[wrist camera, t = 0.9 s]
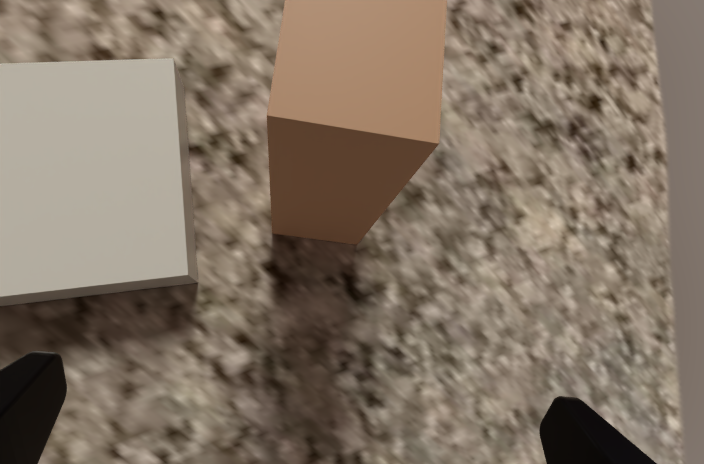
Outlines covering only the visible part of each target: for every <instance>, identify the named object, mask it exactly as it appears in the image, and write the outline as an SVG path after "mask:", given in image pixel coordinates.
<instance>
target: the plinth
mask: <svg viewBox="0 0 704 464" xmlns="http://www.w3.org/2000/svg"><path fill="white" fill-rule="evenodd" d="M191 283H198V272H197V258H196V244H195V231H194V217H193V203H192V189H191V175H190V161H189V148H188V134H187V120H186V106H185V92H184V86H183V83H182V80H181V78H180V75H179V72H178V69H177V67H176V64H175V61H174V58H168V59H137V60H105V61H73V62H41V63H10V64H0V306H7V305H16V304H24V303H32V302H41V301H49V300H57V299H66V298H74V297H82V296H91V295H99V294H107V293H116V292H124V291H132V290H141V289H149V288H158V287H166V286H174V285H183V284H191Z"/></svg>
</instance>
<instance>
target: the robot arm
mask: <svg viewBox="0 0 704 464" xmlns="http://www.w3.org/2000/svg"><path fill="white" fill-rule="evenodd" d="M66 392H67V384H66V379H65V373H64V367H63V362H62V358H61V356H60V355H59V354H58V353H55V352H43V351H32V352H30V353H28V354H26V355H24V356H22V357H21V358H19V359H18V360H16V361H14V362H13V363H11V364H9V365H8V366H6V367H4V368H3V369H1V370H0V464H38V462H39V459H40V457H41V454H42V452H43V450H44V447H45V445H46V443H47V440H48V438H49V436H50V433H51V431H52V429H53V426H54V424H55V422H56V419H57V417H58V414H59V412H60V410H61V407H62V405H63V403H64V400H65V397H66ZM540 438H541V442H542V446H543V450H544V454H545V458H546V462H547V464H656V463H655V462H654V461H653V460H652V459H651V458H649V457H648V456H647V455H646V454H645V453H643V452H642V451H641V450H640V449H639V448H638V447H636V446H635V445H634V444H633V443H632V442H630V441H629V440H628V439H627V438H626V437H625V436H623V435H622V434H621V433H620V432H619V431H617V430H616V429H615V428H614V427H613V426H612V425H610V424H609V423H608V422H607V421H606V420H604V419H603V418H602V417H601V416H600V415H598V414H597V413H596V412H595V411H594V410H593V409H591V408H590V407H589V406H588V405H587V404H585V403H584V402H583V401H582V400H580V399H578V398H574V397H563V396H559V397H557V398H555V399H554V400H553V402H552V404H551V406H550V407H549V409H548V411H547V413H546V415H545V416H544V418H543V420H542V422H541V424H540Z"/></svg>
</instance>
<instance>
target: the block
mask: <svg viewBox="0 0 704 464" xmlns="http://www.w3.org/2000/svg"><path fill="white" fill-rule="evenodd" d="M446 7H447V1H446V0H285V5H284V12H283V18H282V24H281V30H280V37H279V43H278V49H277V55H276V61H275V68H274V74H273V80H272V86H271V93H270V99H269V105H268V111H267V129H268V151H269V173H270V196H271V218H272V234H279V235H287V236H294V237H302V238H310V239H317V240H325V241H332V242H340V243H347V244H355V245H357V244H358V243H359V242H360V240H361V239H362V238H363V237H364V236H365V234H366V233H367V232H368V231H369V229H370V228H371V227H372V226H373V224H374V223H375V222H376V221H377V220H378V218H379V217H380V216H381V215H382V213H383V212H384V211H385V210H386V208H387V207H388V206H389V205H390V203H391V202H392V201H393V200H394V199H395V197H396V196H397V195H398V194H399V192H400V191H401V190H402V189H403V187H404V186H405V185H406V184H407V183H408V181H409V180H410V179H411V178H412V176H413V175H414V174H415V173H416V171H417V170H418V169H419V168H420V167H421V165H422V164H423V163H424V162H425V160H426V159H427V158H428V157H429V155H430V154H431V153H432V152H433V151H434V149H435V148H436V147H437V146H438V144H439V136H440V117H441V99H442V81H443V62H444V44H445V25H446Z"/></svg>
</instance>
